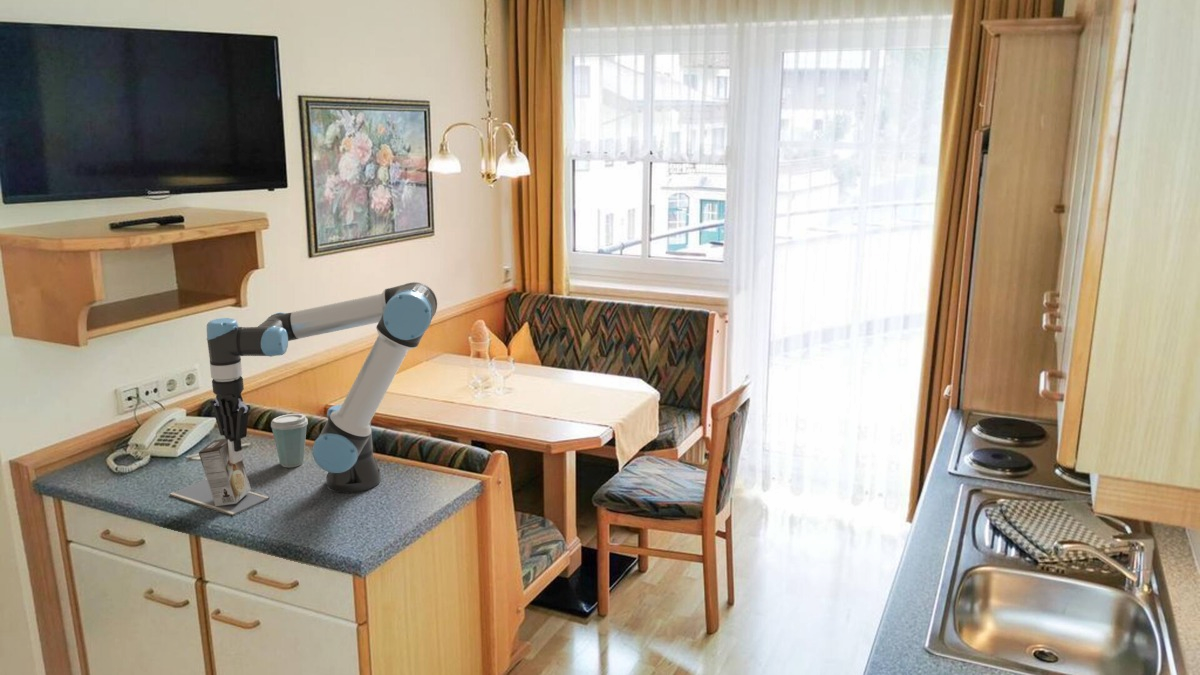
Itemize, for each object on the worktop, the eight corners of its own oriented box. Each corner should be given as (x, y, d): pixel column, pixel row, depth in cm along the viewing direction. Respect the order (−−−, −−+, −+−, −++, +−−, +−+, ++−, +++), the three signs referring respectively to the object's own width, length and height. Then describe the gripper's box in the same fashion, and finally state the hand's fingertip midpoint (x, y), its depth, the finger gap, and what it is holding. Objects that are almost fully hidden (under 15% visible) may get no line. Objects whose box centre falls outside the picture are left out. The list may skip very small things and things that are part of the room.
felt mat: (269, 499, 249) (269, 497, 249) (232, 516, 239) (232, 514, 239) (207, 480, 261) (206, 478, 261) (169, 495, 251) (169, 493, 251)
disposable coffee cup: (266, 465, 272) (261, 418, 268) (295, 454, 280) (291, 408, 277) (290, 473, 266) (286, 425, 262) (319, 461, 275) (315, 414, 271)
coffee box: (230, 492, 252) (214, 439, 248) (252, 489, 251) (236, 436, 247) (214, 507, 243) (197, 451, 239) (236, 503, 242) (220, 448, 238)
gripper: (256, 377, 237) (264, 461, 243) (222, 370, 243) (231, 452, 249) (232, 385, 230) (241, 471, 236) (198, 377, 236) (207, 461, 242)
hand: (236, 461), depth 243 cm, fingers closed
